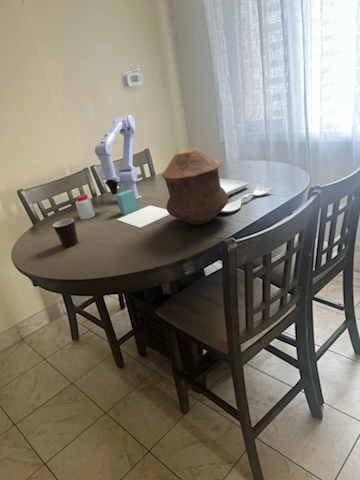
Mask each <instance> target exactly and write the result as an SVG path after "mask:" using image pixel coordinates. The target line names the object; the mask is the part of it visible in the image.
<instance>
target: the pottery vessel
mask: <svg viewBox="0 0 360 480" xmlns="http://www.w3.org/2000/svg"><path fill="white" fill-rule="evenodd" d="M221 165H222V163H221V162H219V161H217V160H215V159H213V158H212V157H211V156H210V155H208V154H207V153H205V152H204V151H202V149H199V148H198V147H190V148H186V149H182V150H180V151H178V152H176V153H175V154H174V155H173V157H172V159H171V161H170V162H169V163H168V165H167V167H165V169H164V171H163V172H162V174H161V177H162V178H163V179H164V180H165V184H166V187H167V191H168V195H169V198H168V200H167V202H166V209H167V211H168V213H169V214H170V215H169V216H171V217H173V218H176V219H179V220H182V221H185V222H187V223H188V222H189V223H190V224H192V225H203V224H207V223H209V222H211V221H213V218H214V217H215V216H217V215H218V214H219V213H221V212H220V211H221V210H222V209H223V208H224V207H225V206H226V204H228V202H229V196H227V194H226V192H225V191H224V189H223V188H222V187H221V186H220V181H219V179H220V176H219V168H220V167H221Z"/></svg>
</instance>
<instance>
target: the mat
mask: <svg viewBox="0 0 360 480" xmlns="http://www.w3.org/2000/svg"><path fill="white" fill-rule="evenodd" d="M168 216H171V215H170V214H169V213H168V211H167V208H163V207H158V206H154V205H147V206H145V207H143V208H140V209H138V210H136V211H134V212H131V213H129V214H127V215H124V216H122V217H119V218H117V219H116V221H119V222H122V223H124V224H127V225H130V226H133V227H136V228H139V229H142V228H143V227H146V226H148V225H151V224H152V223H155V222H157V221H159V220H162V219H163V218H166V217H168Z"/></svg>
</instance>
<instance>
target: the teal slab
mask: <svg viewBox="0 0 360 480" xmlns="http://www.w3.org/2000/svg"><path fill="white" fill-rule="evenodd" d="M115 197H116V201H117V203H118V205H117V206H118V208H119V212H120V214H121V215H124V216H126V215H129V214H131V213H133V212H136V211H138V210H139V207H138V202H137V199H136V197H135V193H134V190H127V191H125V192H122V193H121V192H120V193H117V194H115Z"/></svg>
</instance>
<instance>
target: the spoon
mask: <svg viewBox="0 0 360 480" xmlns="http://www.w3.org/2000/svg"><path fill="white" fill-rule="evenodd" d="M273 190H274V186H272V187H267V188H266V187H262V186H260V185H259V184H258V185H256V188H255V189H254V190H253V192H252V193H251V192H250V193H247V194H245V195H242V196H241V197H240V198H239V199H237V200H235V201H233V202H229V203H227V204H226V206H225V207H224V208H223V209H222V210H221V211H220V212H219V213H232V212H236V211H237V210H239V209H240V208H241V206H242V200H244V199H247V198H249V197H251V196H252V197H260V196H264V195H266V194H267V193H269V192H272V191H273Z"/></svg>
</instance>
